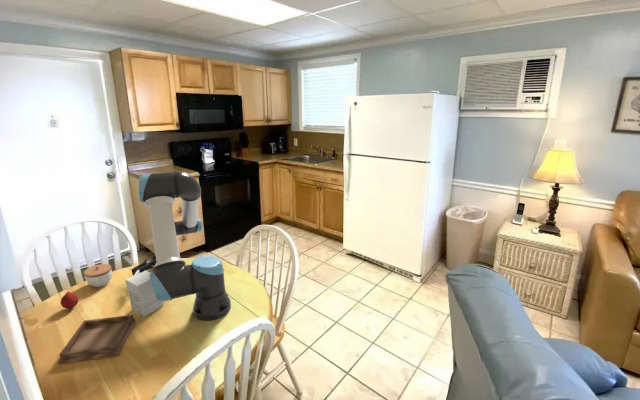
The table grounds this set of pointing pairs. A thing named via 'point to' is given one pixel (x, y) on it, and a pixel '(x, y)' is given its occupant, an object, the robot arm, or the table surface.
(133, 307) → the supplement box
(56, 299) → the table surface
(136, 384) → the table surface
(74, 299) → the onion
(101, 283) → the lidded jar
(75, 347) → the walnut stand
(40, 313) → the table surface
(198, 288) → the robot arm
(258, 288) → the table surface
